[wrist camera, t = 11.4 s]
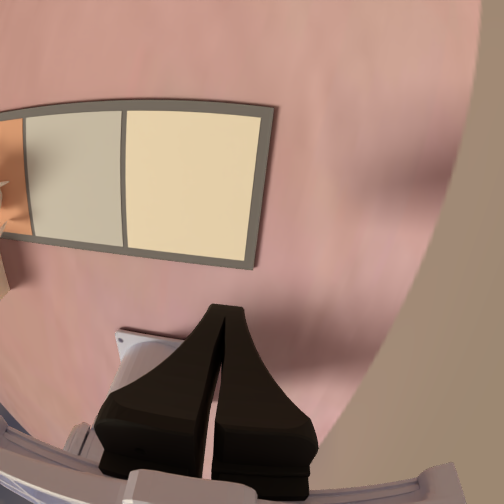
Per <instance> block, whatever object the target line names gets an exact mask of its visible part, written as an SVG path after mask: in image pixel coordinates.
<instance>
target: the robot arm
mask: <svg viewBox="0 0 504 504" xmlns="http://www.w3.org/2000/svg"><path fill="white" fill-rule="evenodd" d="M115 337H116V342H117V347H118V351H119V356H120V360H121V364H120V366H119V368H118V371H117V373H116V375H115V377H114V380H113V382H112V384H111V387H110V389H109V391H108V394H107V396H106V398H105V401H104V403H103V405H102V407H101V409H100V411H99V413H98V415H97V416H96V418H95V420H94V423H93V425H92V428H91V429H90V425H89V424H87V423H85V422H83V423H82V424H79V425H75V426H74V427H73V429H72V431H71V433H70V435H69V437H68V439H67V441H66V443H65V446H64V448H63V450H62V449H60V448H57V447H54V446H52V445H50V444H47V443H45V442H42V441H40V440H38V439H35V438H33V437H31V436H29V435H26V434H24V433H22V432H20V431H18V430H16V429H14V428H12V427H10V426H8V425H7V423H6V421H5V420H4V418H2V416H1V415H0V484H2V485H3V486H5V487H6V488H8V489H10V490H11V491H13V492H15V493H16V494H18V495H20V496H22V497H23V498H25V499H27V500H29V501H31V502H32V503H35V504H466V501H465V497H464V494H463V490H462V487H461V484H460V481H459V478H458V475H457V472H456V469H455V466H454V463H453V462H449V463H446V464H442V465H438V466H433V467H431V468H428V469H426V470H425V471H423V472H422V473H421V474H420V475H419V476H418V477H416V478H412V479H407V480H401V481H396V482H390V483H384V484H377V485H369V486H361V487H352V488H341V489H328V490H309V483H308V477H309V476H310V466H309V465H310V463H311V462H312V460H313V459H314V457H315V456H316V454H317V452H318V449H319V448H318V440H317V436H316V433H315V430H314V427H313V424H312V422H311V419H310V418H309V417H308V416H307V415H305V414H304V413H303V412H302V411H301V410H300V409H299V408H298V407H297V406H296V405H295V404H294V403H293V402H292V401H291V400H290V399H289V398H288V397H287V396H286V394H285V393H284V392H283V391H282V389H281V388H280V387H279V386H278V384H277V383H276V382H275V381H274V379H273V378H272V376H271V375H270V373H269V372H268V370H267V368H266V367H265V365H264V363H263V362H262V360H261V358H260V356H259V354H258V352H257V350H256V347H255V345H254V343H253V340H252V338H251V335H250V332H249V330H248V326H247V323H246V319H245V313H244V309H243V308H242V307H238V306H229V305H220V304H211V305H210V306H209V308H208V310H207V312H206V313H205V315H204V316H203V318H202V319H201V321H200V322H199V324H198V325H197V326H196V327H195V329H194V330H193V331H192V333H191V334H190V335H189V336H188V337H187V338H186V339H185V340H179V339H173V338H166V337H160V336H154V335H148V334H142V333H137V332H131V331H126V330H120V329H119V330H117V331H116V333H115ZM120 338H121V339H120ZM122 339H123V340H122ZM221 362H222V366H221ZM220 367H221V386H220V392H219V399H218V405H217V411H216V417H215V428H214V449H213V460H212V469H211V472H212V474H211V480H209V479H203V478H202V472H203V463H204V454H205V446H206V438H207V430H208V422H209V414H210V408H211V403H212V399H213V395H214V391H215V387H216V383H217V379H218V375H219V371H220Z"/></svg>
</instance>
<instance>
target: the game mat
mask: <svg viewBox="0 0 504 504" xmlns="http://www.w3.org/2000/svg"><path fill="white" fill-rule="evenodd" d="M273 112H274V108H271V107H263V106H254V105H244V104H233V103H221V102H206V101H185V100H116V101H95V102H81V103H69V104H59V105H50V106H42V107H34V108H27V109H21V110H15V111H9V112H3V113H0V182H3V181H10V182H9V183H7V184H5V185H3V186H1V187H0V189H1V192H2V204H1V208H0V227H1V226H2V225H3V224H4V223H5V222H6V221H7V224H6V226H5V228H4V230H3V232H2V234H1V236H0V238H4V239H11V240H18V241H25V242H32V243H39V244H46V245H53V246H60V247H68V248H75V249H82V250H90V251H97V252H105V253H113V254H120V255H128V256H136V257H144V258H152V259H160V260H168V261H176V262H185V263H193V264H201V265H210V266H219V267H227V268H236V269H245V270H253V267H254V260H255V252H256V244H257V237H258V229H259V221H260V214H261V206H262V198H263V191H264V183H265V175H266V167H267V159H268V152H269V144H270V136H271V128H272V120H273Z"/></svg>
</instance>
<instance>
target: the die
mask: <svg viewBox="0 0 504 504" xmlns="http://www.w3.org/2000/svg"><path fill="white" fill-rule="evenodd" d="M9 291H10V287H9V284H8V281H7V277H6V273H5V270H4V266H3V262H2V258H1V254H0V300H1V299H2V298H3V297H4V296H5V295H6V294H7V293H8V292H9Z"/></svg>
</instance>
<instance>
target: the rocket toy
mask: <svg viewBox="0 0 504 504" xmlns="http://www.w3.org/2000/svg"><path fill="white" fill-rule="evenodd" d="M9 182H10V181H3V182H0V187H1V186H3V185H5V184H7V183H9ZM1 204H2V192H1V189H0V208H1ZM6 224H7V221H6V222H5V223H4V224H3V225H2V226H1V227H0V236H1V234H2V232H3V230H4V228H5V226H6Z"/></svg>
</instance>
